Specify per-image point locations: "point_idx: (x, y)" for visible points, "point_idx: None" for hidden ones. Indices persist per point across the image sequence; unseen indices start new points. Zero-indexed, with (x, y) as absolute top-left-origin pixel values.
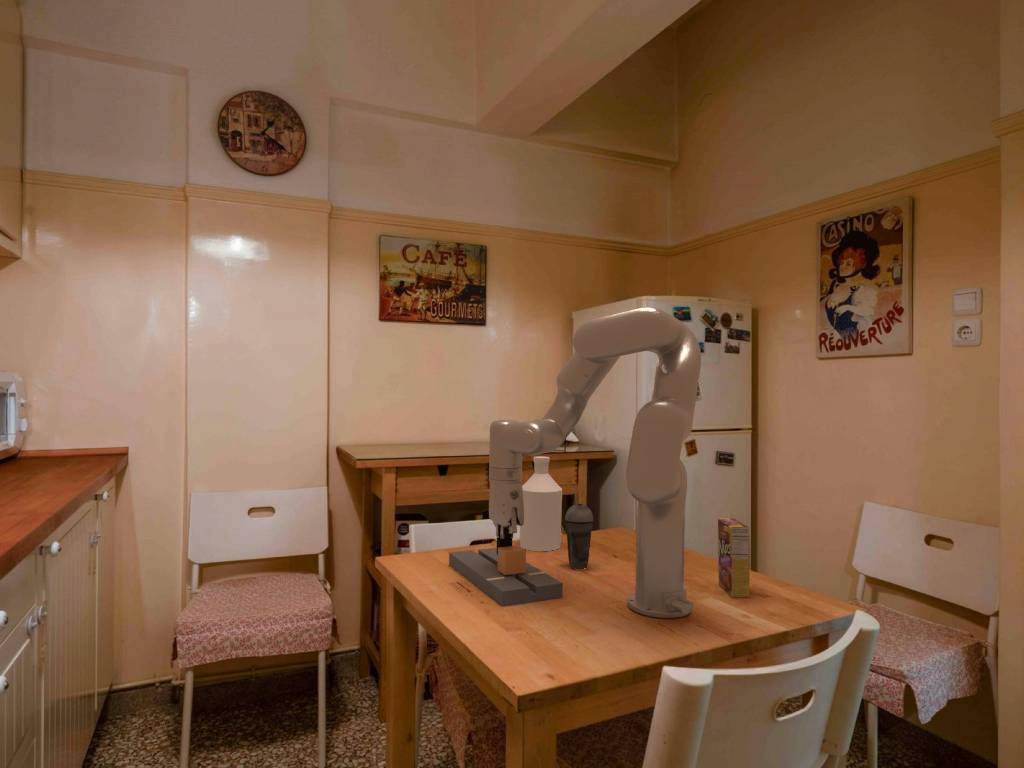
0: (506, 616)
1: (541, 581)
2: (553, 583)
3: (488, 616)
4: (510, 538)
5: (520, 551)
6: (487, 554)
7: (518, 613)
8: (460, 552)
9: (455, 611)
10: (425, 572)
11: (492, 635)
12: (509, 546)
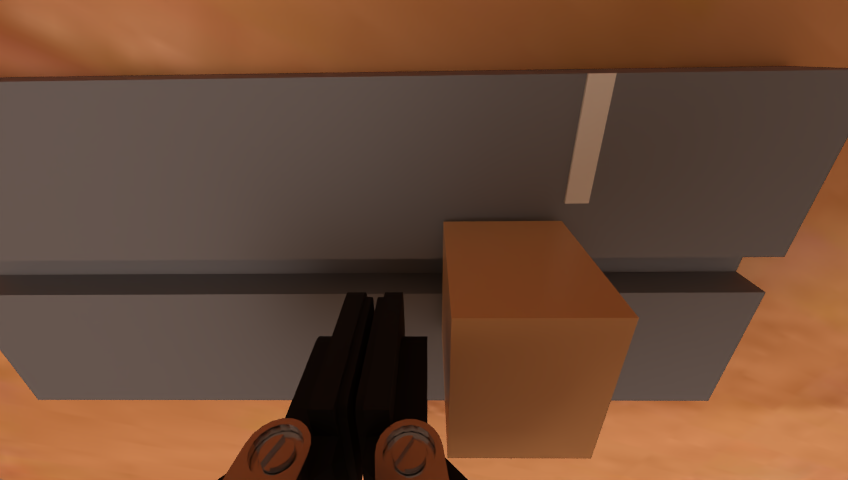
0: (755, 371)
1: (736, 190)
2: (830, 139)
3: (710, 409)
4: (392, 420)
5: (617, 355)
6: (62, 252)
7: (767, 333)
8: (30, 360)
9: (608, 457)
10: (200, 435)
11: (831, 440)
12: (451, 388)
